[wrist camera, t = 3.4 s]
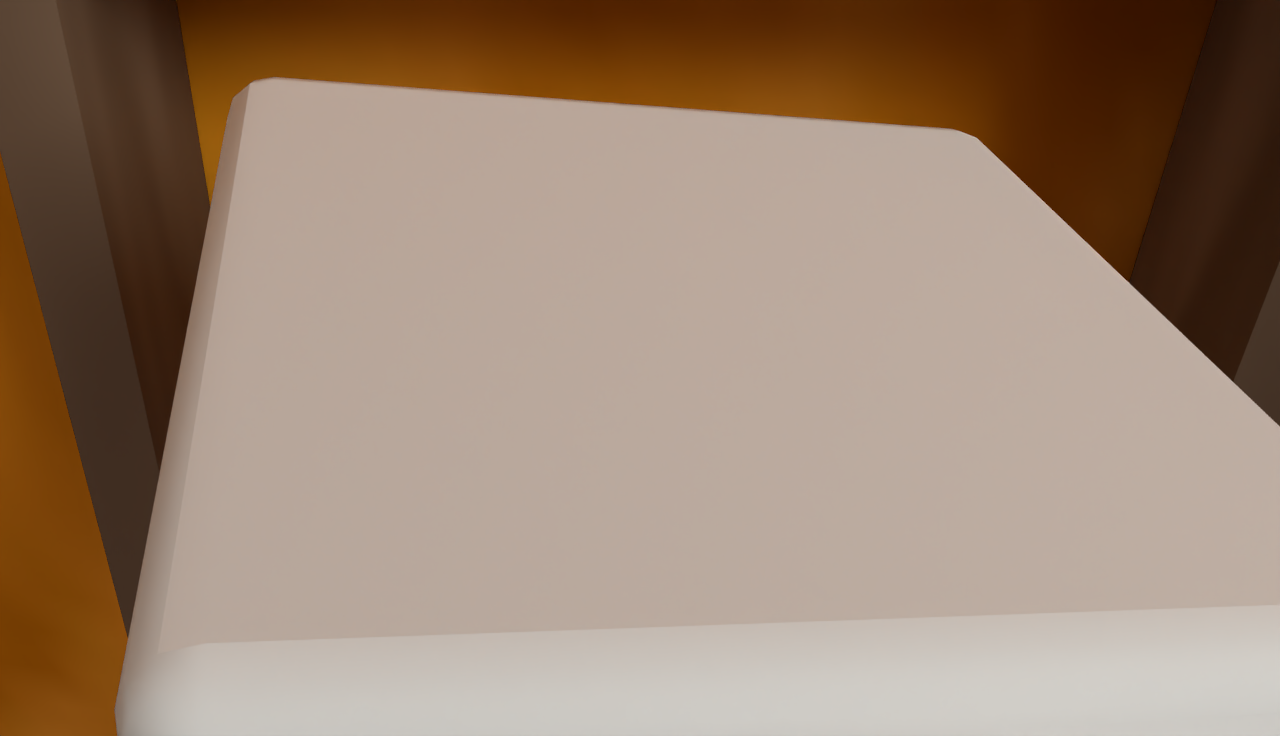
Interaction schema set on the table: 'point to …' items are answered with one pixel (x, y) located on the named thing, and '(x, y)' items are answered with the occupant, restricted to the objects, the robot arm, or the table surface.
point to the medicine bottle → (683, 442)
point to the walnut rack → (179, 209)
